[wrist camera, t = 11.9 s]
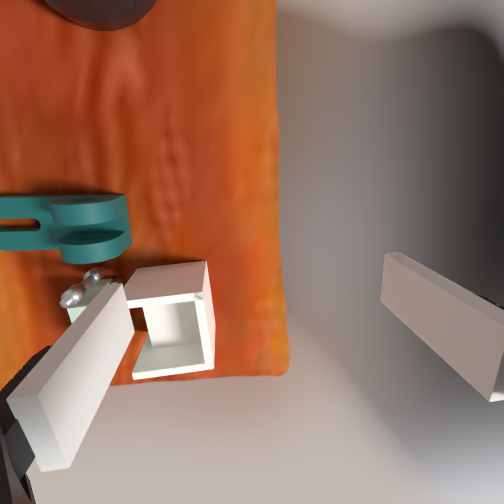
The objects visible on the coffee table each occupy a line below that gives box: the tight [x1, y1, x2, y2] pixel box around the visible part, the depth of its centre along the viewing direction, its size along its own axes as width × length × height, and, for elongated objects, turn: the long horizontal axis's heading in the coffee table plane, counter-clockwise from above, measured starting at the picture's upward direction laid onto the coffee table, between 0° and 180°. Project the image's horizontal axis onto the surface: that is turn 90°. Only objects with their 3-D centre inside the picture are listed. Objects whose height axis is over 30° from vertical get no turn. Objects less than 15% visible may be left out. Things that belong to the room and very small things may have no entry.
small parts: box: [60, 266, 135, 330], centre depth 37 cm, size 11×5×10 cm, turn 4°
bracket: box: [0, 195, 132, 264], centre depth 34 cm, size 18×7×8 cm, turn 90°
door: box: [67, 278, 113, 323], centre depth 39 cm, size 9×4×8 cm, turn 5°
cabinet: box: [123, 261, 215, 380], centre depth 38 cm, size 11×10×10 cm
